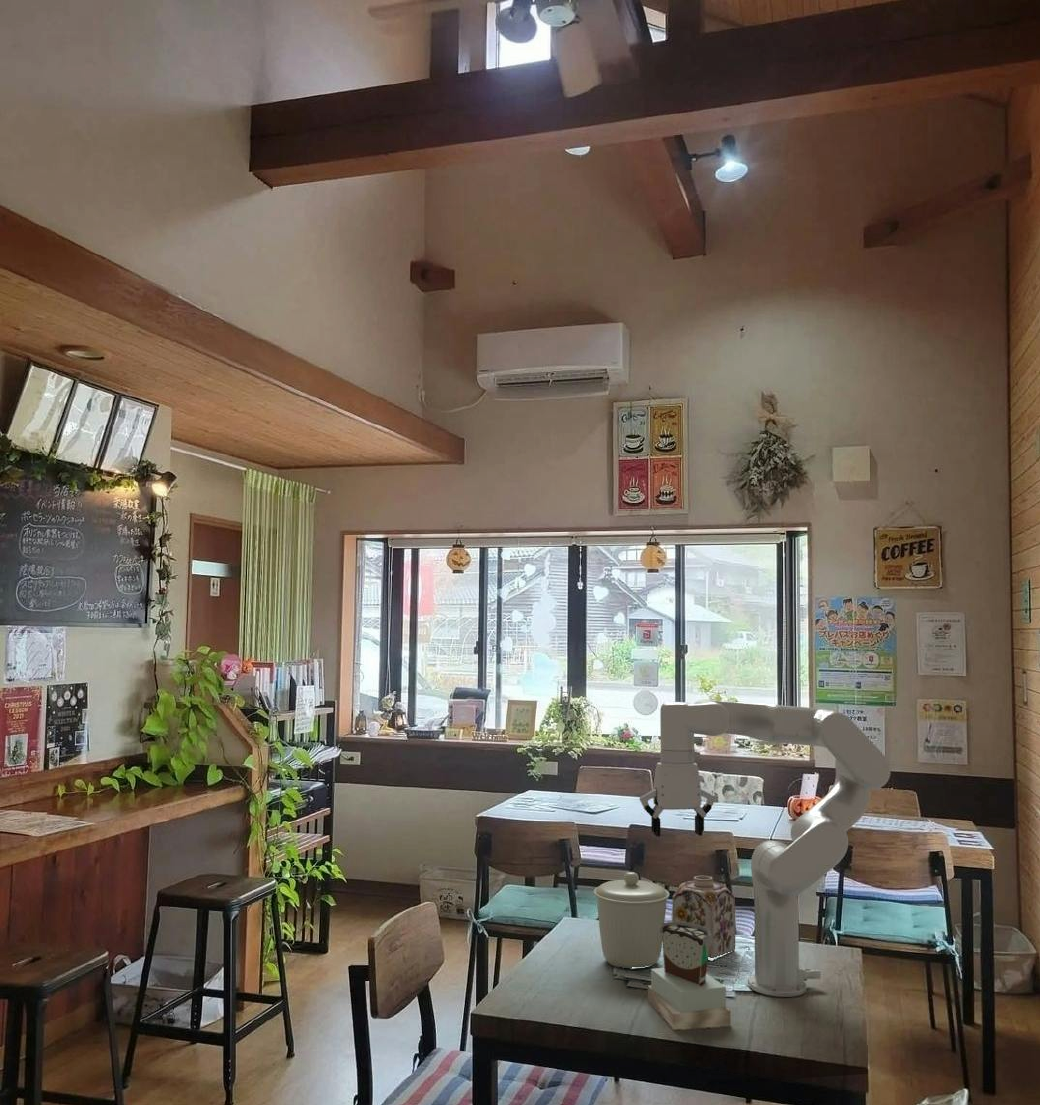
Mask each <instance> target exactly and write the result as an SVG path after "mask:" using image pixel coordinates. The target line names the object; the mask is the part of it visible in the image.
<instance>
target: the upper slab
mask: <svg viewBox="0 0 1040 1105" xmlns="http://www.w3.org/2000/svg"><path fill="white" fill-rule="evenodd" d="M650 974H651V975H650V979H651V980H650V983H651V984H650V985H651V989H653V990H654V991H655V992H656V993H657V994H659V995H660V996H661V997H662V998H664V999H665V1000H666V1001H667V1002H668V1003H670V1004H671V1005H672V1006H673V1007H674V1008H676V1009H677V1010H678V1011H679V1012H681V1013H685V1012H693V1011H701V1010H709V1009H717V1008H725V1007H727V993H726V990H727V987H726V986H725V985H724V984H722V983H721V982H719V981H718V980H716V979H715V978H713V977H712V976H711V975H709V974H708V973H706V981H705V983H704V984H703V985H702V986H697V985H695V984H692V983H689V982H686V981H684V980H681V979H678V978H676V977H673V976H670V975H668V974H665V972H664V967H656V968H651V969H650Z"/></svg>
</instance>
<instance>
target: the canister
mask: <svg viewBox="0 0 1040 1105" xmlns="http://www.w3.org/2000/svg"><path fill="white" fill-rule="evenodd" d="M593 895H594V896H595V899H596V905H597V906H596V907H597V914H598V915H597V918H598V928H599V936H600V942H601V951H602V955H603V957H604V959H605V961H606V962H607V963H608V964H610V965H612V966H613V967H616V968H620V967H622V968H621V969H624V968H632V967H645V966H650V965H653V964H655V963H656V964H657V963H658V961H659V960H660V957H661V954H662V949H663V942H662V933H660V927H661V925H662V923H666V922H665V920H666V909H667V900H668V899H669V897H670V895H671V894H670V892H669V890H667V889H665V888H664V887H662V886H661V885H659V884H658V883H654V882H651V881H647V880H640V878H639V875H638V874H637V873H636V872H634V871H627V872H625V874H624V875H623V879H614V880H609V881H605V882H604V883H603V882H602V884H600V885H599V886H597V887H595V888H594V890H593ZM656 964H655V965H656ZM653 966H654V965H653Z"/></svg>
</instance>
